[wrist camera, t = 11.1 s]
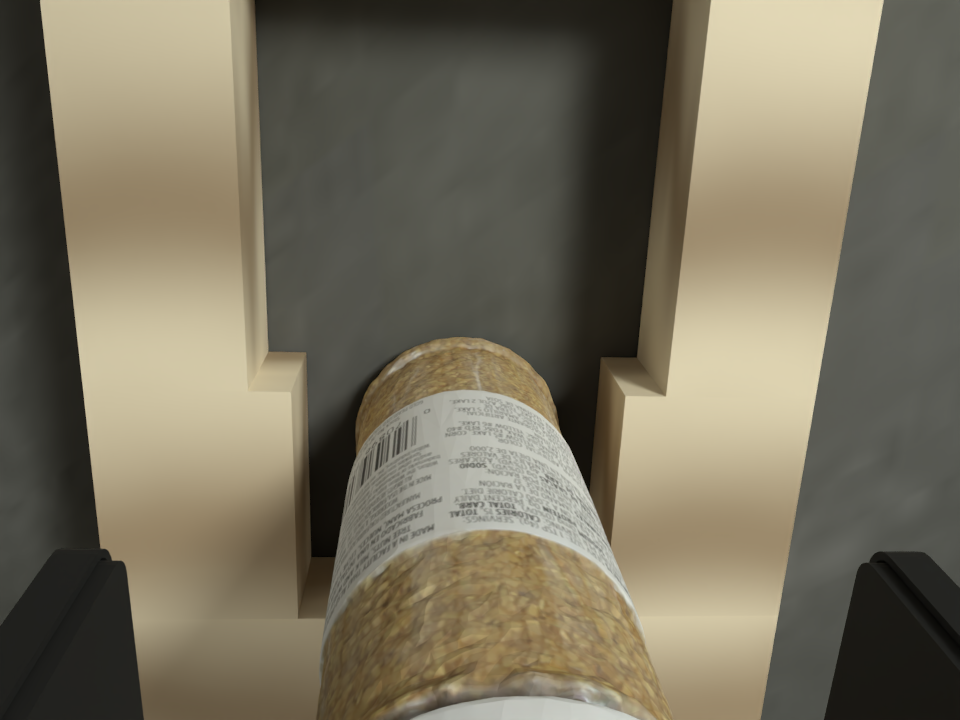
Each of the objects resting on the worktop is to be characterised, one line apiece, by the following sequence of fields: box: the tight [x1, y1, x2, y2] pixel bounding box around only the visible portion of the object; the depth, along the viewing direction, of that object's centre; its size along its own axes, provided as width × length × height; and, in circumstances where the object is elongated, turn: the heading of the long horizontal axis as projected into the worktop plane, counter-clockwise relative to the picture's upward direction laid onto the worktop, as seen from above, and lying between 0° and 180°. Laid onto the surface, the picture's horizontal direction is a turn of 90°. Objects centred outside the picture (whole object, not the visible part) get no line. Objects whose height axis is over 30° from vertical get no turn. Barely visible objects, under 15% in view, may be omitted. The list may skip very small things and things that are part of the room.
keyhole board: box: [40, 0, 884, 720], centre depth 18 cm, size 20×14×2 cm
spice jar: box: [316, 337, 674, 720], centre depth 13 cm, size 5×5×13 cm
